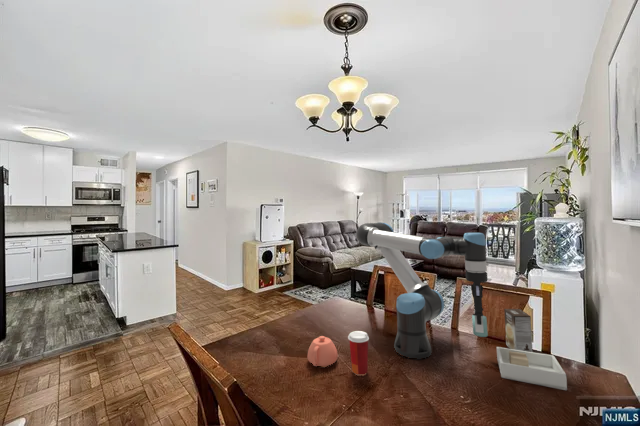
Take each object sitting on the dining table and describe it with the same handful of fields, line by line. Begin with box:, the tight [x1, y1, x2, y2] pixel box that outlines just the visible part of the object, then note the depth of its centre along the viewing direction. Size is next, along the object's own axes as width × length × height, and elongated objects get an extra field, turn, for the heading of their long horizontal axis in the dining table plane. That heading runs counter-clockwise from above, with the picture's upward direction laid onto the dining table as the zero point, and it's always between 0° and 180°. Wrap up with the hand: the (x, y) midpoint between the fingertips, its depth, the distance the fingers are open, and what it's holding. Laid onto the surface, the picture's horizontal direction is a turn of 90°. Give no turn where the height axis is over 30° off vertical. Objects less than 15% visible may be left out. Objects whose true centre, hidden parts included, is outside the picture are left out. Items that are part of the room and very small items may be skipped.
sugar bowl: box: [307, 335, 339, 367], centre depth 109 cm, size 12×14×10 cm
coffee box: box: [503, 308, 533, 352], centre depth 114 cm, size 9×6×16 cm
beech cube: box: [509, 351, 529, 367], centre depth 98 cm, size 5×5×5 cm
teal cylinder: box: [471, 314, 489, 338], centre depth 109 cm, size 5×5×7 cm
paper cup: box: [347, 330, 370, 374], centre depth 102 cm, size 8×8×14 cm
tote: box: [496, 346, 568, 391], centre depth 97 cm, size 18×14×5 cm
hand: (479, 329), depth 109 cm, fingers closed on teal cylinder, 5 cm apart
